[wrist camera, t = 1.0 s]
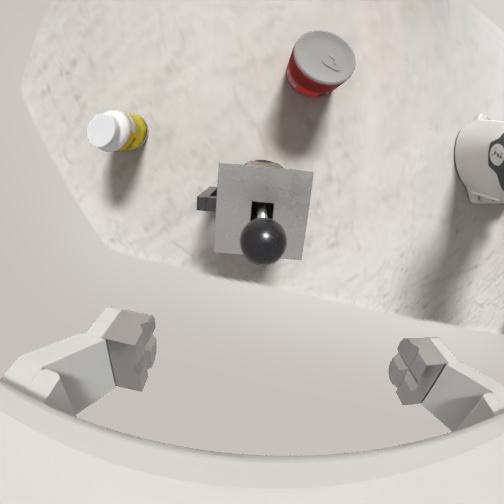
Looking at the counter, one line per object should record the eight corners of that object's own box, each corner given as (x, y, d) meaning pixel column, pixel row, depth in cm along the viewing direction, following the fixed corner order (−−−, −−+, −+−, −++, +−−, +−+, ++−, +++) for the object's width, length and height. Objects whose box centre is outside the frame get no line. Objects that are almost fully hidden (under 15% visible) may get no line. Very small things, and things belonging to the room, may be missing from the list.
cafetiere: (297, 163, 43) (315, 170, 29) (289, 227, 47) (302, 261, 33) (215, 156, 43) (195, 160, 29) (211, 220, 47) (191, 251, 33)
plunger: (291, 180, 35) (318, 206, 19) (285, 232, 37) (304, 296, 21) (236, 174, 35) (217, 197, 19) (232, 227, 37) (213, 288, 21)
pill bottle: (121, 155, 43) (87, 160, 33) (113, 122, 41) (77, 119, 31) (153, 143, 42) (124, 143, 32) (144, 109, 40) (114, 100, 30)
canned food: (323, 106, 40) (343, 95, 29) (277, 84, 39) (283, 65, 28) (342, 69, 37) (365, 49, 27) (297, 47, 36) (307, 20, 26)
